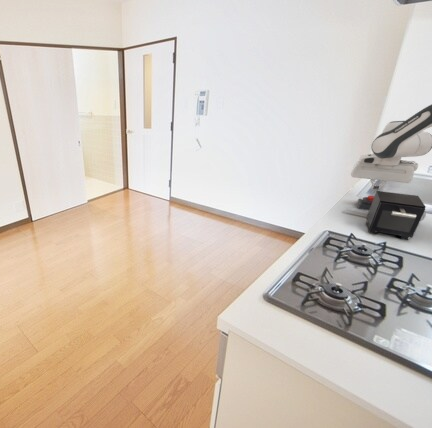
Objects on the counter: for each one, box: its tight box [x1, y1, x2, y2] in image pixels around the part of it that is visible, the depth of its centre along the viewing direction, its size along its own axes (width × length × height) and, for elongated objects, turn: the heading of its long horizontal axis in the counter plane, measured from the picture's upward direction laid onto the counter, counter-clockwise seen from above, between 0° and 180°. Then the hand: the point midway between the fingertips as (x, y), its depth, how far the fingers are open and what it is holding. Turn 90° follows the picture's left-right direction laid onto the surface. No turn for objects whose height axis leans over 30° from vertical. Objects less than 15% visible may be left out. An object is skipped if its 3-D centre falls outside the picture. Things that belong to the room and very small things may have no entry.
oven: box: [365, 190, 427, 241], centre depth 108 cm, size 12×12×14 cm
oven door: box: [370, 202, 426, 239], centre depth 101 cm, size 7×12×12 cm, turn 54°
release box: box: [356, 196, 373, 211], centre depth 130 cm, size 8×8×4 cm
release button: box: [367, 195, 375, 201], centre depth 129 cm, size 3×3×2 cm
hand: (375, 189), depth 127 cm, fingers closed
